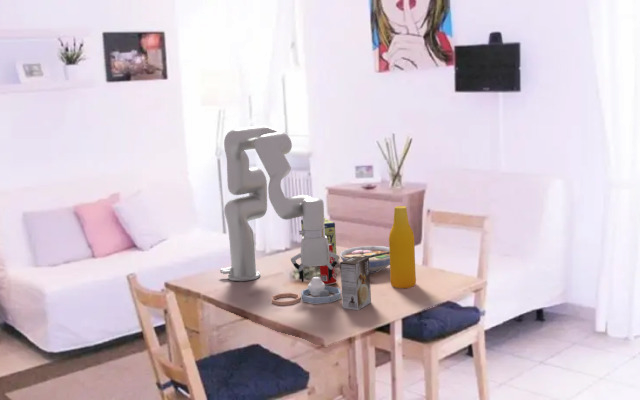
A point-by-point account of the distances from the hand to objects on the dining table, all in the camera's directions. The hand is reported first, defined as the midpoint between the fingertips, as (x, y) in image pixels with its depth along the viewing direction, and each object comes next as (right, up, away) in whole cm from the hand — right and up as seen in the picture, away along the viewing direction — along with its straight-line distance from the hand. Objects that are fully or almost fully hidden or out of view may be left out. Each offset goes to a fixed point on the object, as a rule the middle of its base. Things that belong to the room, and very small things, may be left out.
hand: (316, 280), depth 277 cm
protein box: (+1, +4, +55) cm, 56 cm away
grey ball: (+3, -6, -5) cm, 9 cm away
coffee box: (+14, -7, -13) cm, 21 cm away
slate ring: (+2, -6, -2) cm, 6 cm away
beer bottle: (+32, -3, +7) cm, 33 cm away
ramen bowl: (+21, 0, +29) cm, 36 cm away
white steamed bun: (0, -6, +1) cm, 6 cm away
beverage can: (+4, -3, +15) cm, 16 cm away
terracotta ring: (-11, -7, -3) cm, 13 cm away
